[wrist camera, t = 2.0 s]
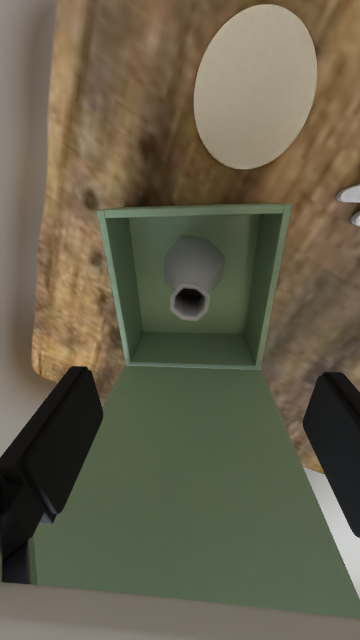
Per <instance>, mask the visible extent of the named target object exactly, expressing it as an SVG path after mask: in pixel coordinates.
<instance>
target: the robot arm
mask: <svg viewBox="0 0 360 640" xmlns="http://www.w3.org/2000/svg"><path fill="white" fill-rule="evenodd" d="M102 420H103V409H102V406H101V402H100V399H99V396H98V392H97V389H96V385H95V382H94V378H93V375H92V372H91V371H90V370H88V368H87V367H81V366H72V367H71V368H70V369H69V370H68V371H67V372H66V374H65V375H64V376H63V378H62V379H61V380H60V381H59V383H58V384H57V385H56V387H55V388H54V389H53V391H52V392H51V393H50V394H49V396H48V397H47V398H46V399H45V401H44V402H43V403H42V405H41V406H40V407H39V408H38V410H37V411H36V413H35V414H34V415H33V416H32V418H31V419H30V420H29V422H28V423H27V424H26V425H25V427H24V428H23V429H22V430H21V432H20V433H19V434H18V436H17V437H16V438H15V440H14V441H13V442H12V443H11V445H10V446H9V447H8V449H7V450H6V451H5V452H4V454H3V455H2V456H1V458H0V640H360V619H359V618H350V617H341V616H332V615H323V614H314V613H305V612H296V611H287V610H278V609H269V608H260V607H251V606H241V605H232V604H222V603H213V602H204V601H194V600H185V599H175V598H166V597H156V596H147V595H137V594H127V593H117V592H107V591H97V590H87V589H77V588H67V587H57V586H43V585H38V583H37V572H36V561H35V550H34V540H33V535H34V533H35V531H36V529H37V527H38V524H39V523H49V524H53V522H54V520H55V518H56V516H57V514H60V513H61V512H62V510H63V509H64V507H65V505H66V503H67V500H68V498H69V496H70V493H71V491H72V489H73V487H74V484H75V482H76V480H77V477H78V475H79V473H80V471H81V468H82V466H83V464H84V462H85V459H86V457H87V455H88V452H89V450H90V448H91V446H92V443H93V441H94V439H95V436H96V434H97V432H98V430H99V427H100V425H101V423H102ZM303 428H304V430H305V433H306V435H307V437H308V439H309V441H310V443H311V445H312V447H313V450H314V452H315V454H316V456H317V458H318V460H319V462H320V464H321V467H322V469H323V471H324V473H325V475H326V477H327V479H328V481H329V483H330V486H331V488H332V490H333V492H334V494H335V496H336V498H337V501H338V502H339V505H340V507H341V509H342V511H343V513H344V515H345V517H346V519H347V522H348V524H349V526H350V528H351V530H352V532H353V533H354V534H355V535H356V536H357V537H359V538H360V392H359V391H358V390H357V389H356V388H355V386H354V385H353V384H352V383H351V382H350V381H349V379H348V378H347V377H346V376H345V375H344V374H343V373H340V372H324V373H323V374H322V376H319V377H318V379H317V382H316V385H315V387H314V390H313V393H312V396H311V399H310V402H309V404H308V407H307V410H306V413H305V416H304V419H303Z"/></svg>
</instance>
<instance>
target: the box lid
mask: <svg viewBox="0 0 360 640" xmlns="http://www.w3.org/2000/svg"><path fill="white" fill-rule="evenodd" d="M102 409H103V420H102V423H101V425H100V427H99V430H98V432H97V434H96V436H95V439H94V441H93V443H92V446H91V448H90V450H89V452H88V455H87V457H86V459H85V462H84V464H83V466H82V468H81V471H80V473H79V475H78V477H77V480H76V482H75V484H74V487H73V489H72V491H71V493H70V496H69V498H68V500H67V503H66V505H65V507H64V509H63V510H62V512H61V513H60V514H57V516H56V518H55V520H54V522H53V524H49V523H39V524H38V527H37V529H36V531H35V533H34V535H33V540H34V550H35V561H36V572H37V583H38V585H43V586H57V587H67V588H77V589H87V590H97V591H107V592H117V593H127V594H137V595H147V596H156V597H166V598H175V599H185V600H194V601H204V602H213V603H222V604H232V605H241V606H251V607H260V608H269V609H278V610H287V611H296V612H305V613H314V614H323V615H332V616H341V617H350V618H359V619H360V599H359V597H358V594H357V592H356V590H355V588H354V585H353V583H352V580H351V578H350V576H349V574H348V571H347V569H346V567H345V564H344V562H343V560H342V557H341V555H340V553H339V550H338V548H337V546H336V543H335V541H334V539H333V536H332V534H331V532H330V529H329V527H328V525H327V522H326V520H325V518H324V515H323V513H322V511H321V508H320V506H319V504H318V501H317V499H316V497H315V494H314V492H313V490H312V487H311V485H310V483H309V481H308V478H307V476H306V473H305V471H304V469H303V466H302V464H301V462H300V459H299V457H298V455H297V452H296V450H295V448H294V445H293V443H292V441H291V438H290V436H289V434H288V431H287V429H286V427H285V424H284V422H283V420H282V417H281V415H280V413H279V410H278V408H277V406H276V403H275V401H274V399H273V396H272V394H271V392H270V389H269V387H268V385H267V382H266V380H265V378H264V375H263V373H262V371H261V370H240V369H211V368H182V367H153V366H124V368H123V370H122V372H121V374H120V375H119V377H118V379H117V381H116V383H115V385H114V386H113V388H112V390H111V392H110V394H109V396H108V397H107V399H106V401H105V403H104V405H103V407H102Z"/></svg>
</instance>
